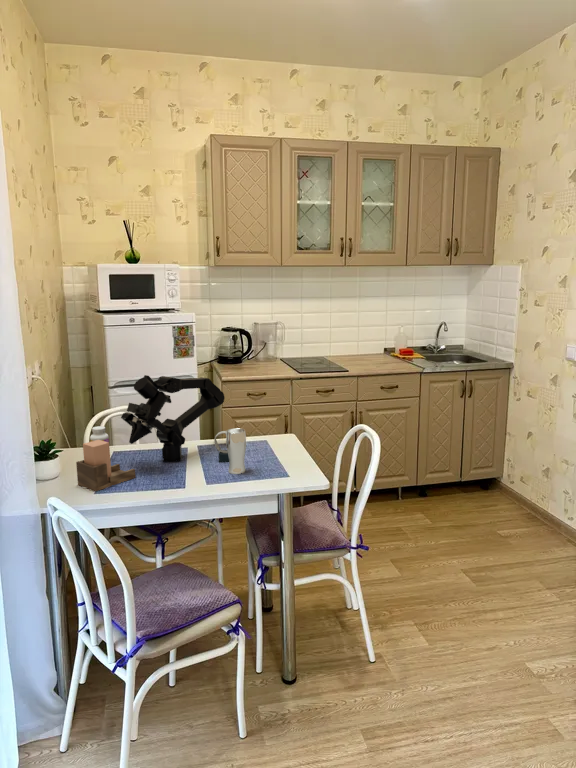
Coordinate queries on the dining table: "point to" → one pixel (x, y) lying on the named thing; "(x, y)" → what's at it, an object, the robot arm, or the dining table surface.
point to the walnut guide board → (101, 475)
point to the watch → (223, 453)
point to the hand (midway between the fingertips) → (130, 443)
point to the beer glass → (236, 450)
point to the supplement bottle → (99, 434)
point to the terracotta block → (97, 454)
